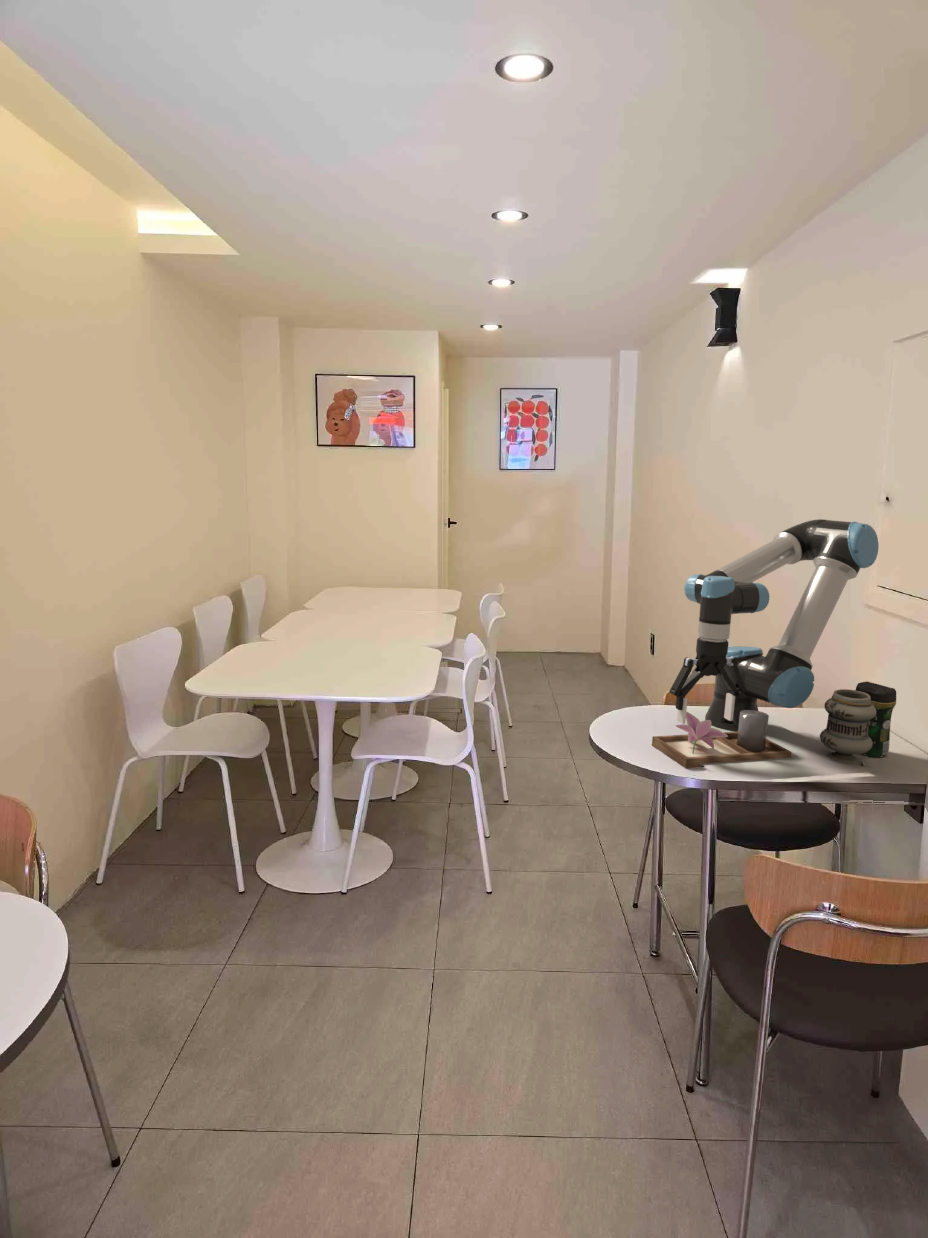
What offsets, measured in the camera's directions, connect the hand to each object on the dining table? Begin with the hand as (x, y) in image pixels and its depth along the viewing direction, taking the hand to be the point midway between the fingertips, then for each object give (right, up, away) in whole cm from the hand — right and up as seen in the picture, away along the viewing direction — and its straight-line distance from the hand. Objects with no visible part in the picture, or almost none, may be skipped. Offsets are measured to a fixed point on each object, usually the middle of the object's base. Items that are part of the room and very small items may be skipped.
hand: (704, 720), depth 202 cm
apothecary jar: (+35, -11, +1) cm, 37 cm away
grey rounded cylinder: (+14, -8, +5) cm, 16 cm away
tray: (+5, -9, +3) cm, 10 cm away
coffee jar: (+45, -10, +9) cm, 47 cm away
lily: (-1, -8, +2) cm, 8 cm away
